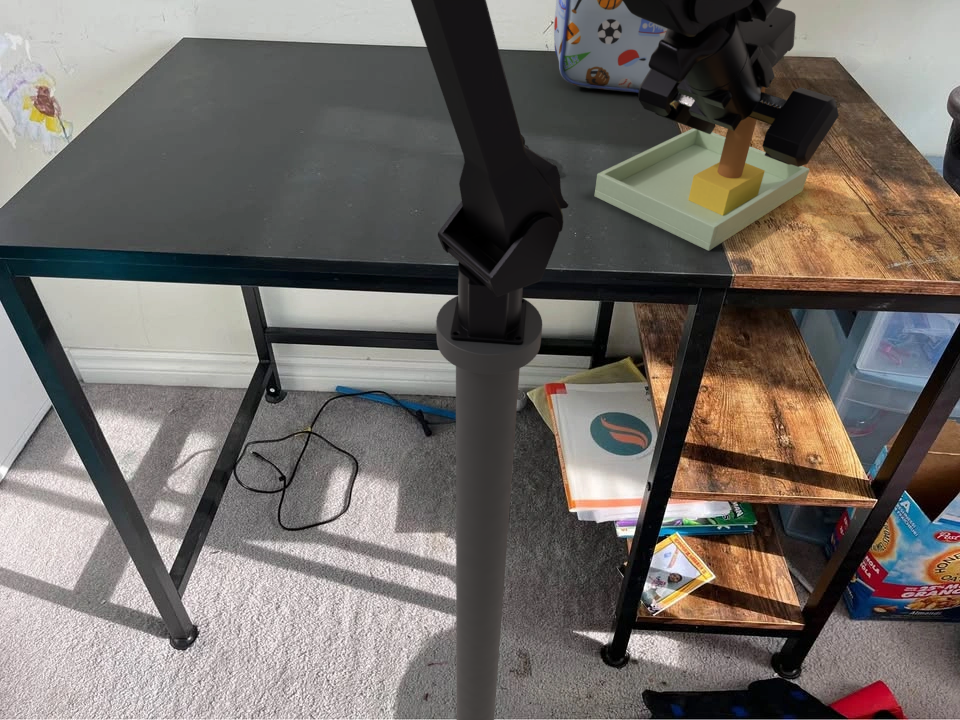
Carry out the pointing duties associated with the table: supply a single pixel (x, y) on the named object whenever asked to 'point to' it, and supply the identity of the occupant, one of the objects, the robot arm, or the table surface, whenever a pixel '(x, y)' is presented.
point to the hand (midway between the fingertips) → (748, 143)
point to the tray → (667, 183)
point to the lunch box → (603, 44)
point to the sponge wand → (729, 174)
